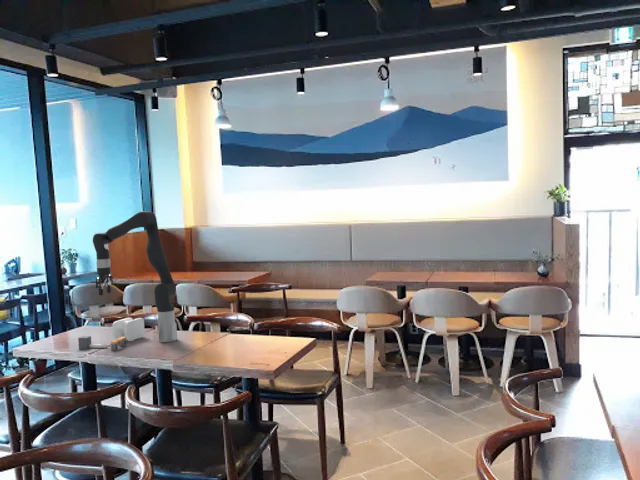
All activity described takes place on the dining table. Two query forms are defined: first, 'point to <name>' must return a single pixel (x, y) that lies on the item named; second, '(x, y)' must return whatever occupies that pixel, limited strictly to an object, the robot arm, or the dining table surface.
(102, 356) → the dining table surface
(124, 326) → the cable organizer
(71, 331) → the dining table surface
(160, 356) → the dining table surface
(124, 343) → the tie bracket
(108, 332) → the dining table surface
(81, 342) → the lead
